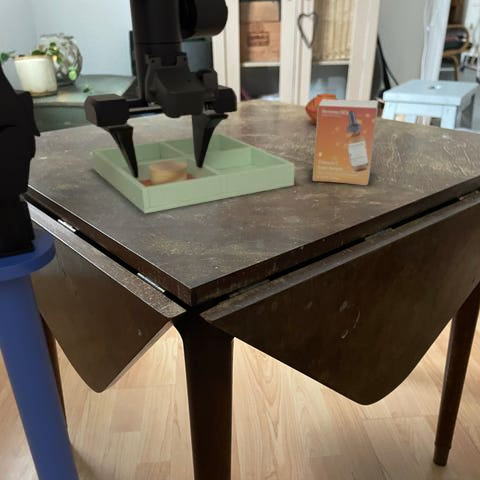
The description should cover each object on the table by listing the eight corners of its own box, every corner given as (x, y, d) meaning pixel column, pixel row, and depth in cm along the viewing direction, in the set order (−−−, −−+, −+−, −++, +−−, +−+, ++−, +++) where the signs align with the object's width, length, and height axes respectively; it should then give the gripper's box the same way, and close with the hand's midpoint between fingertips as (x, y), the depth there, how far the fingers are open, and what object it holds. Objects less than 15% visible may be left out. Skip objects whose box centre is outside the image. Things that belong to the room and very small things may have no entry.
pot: (294, 125, 109) (300, 89, 107) (319, 128, 114) (325, 94, 112) (323, 129, 104) (331, 92, 101) (348, 133, 109) (356, 97, 107)
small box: (311, 182, 78) (316, 104, 72) (316, 171, 82) (321, 97, 77) (368, 185, 76) (377, 106, 71) (370, 174, 81) (378, 99, 75)
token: (159, 195, 71) (157, 173, 69) (145, 185, 75) (143, 164, 73) (193, 189, 73) (192, 167, 71) (179, 180, 77) (177, 158, 75)
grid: (144, 213, 68) (142, 189, 66) (94, 170, 84) (91, 150, 83) (294, 185, 77) (295, 163, 75) (221, 151, 93) (221, 132, 92)
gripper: (101, 52, 55) (120, 201, 63) (259, 42, 62) (258, 176, 71) (73, 44, 63) (93, 177, 71) (215, 37, 71) (219, 157, 79)
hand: (168, 172), depth 73 cm, fingers open, 9 cm apart
